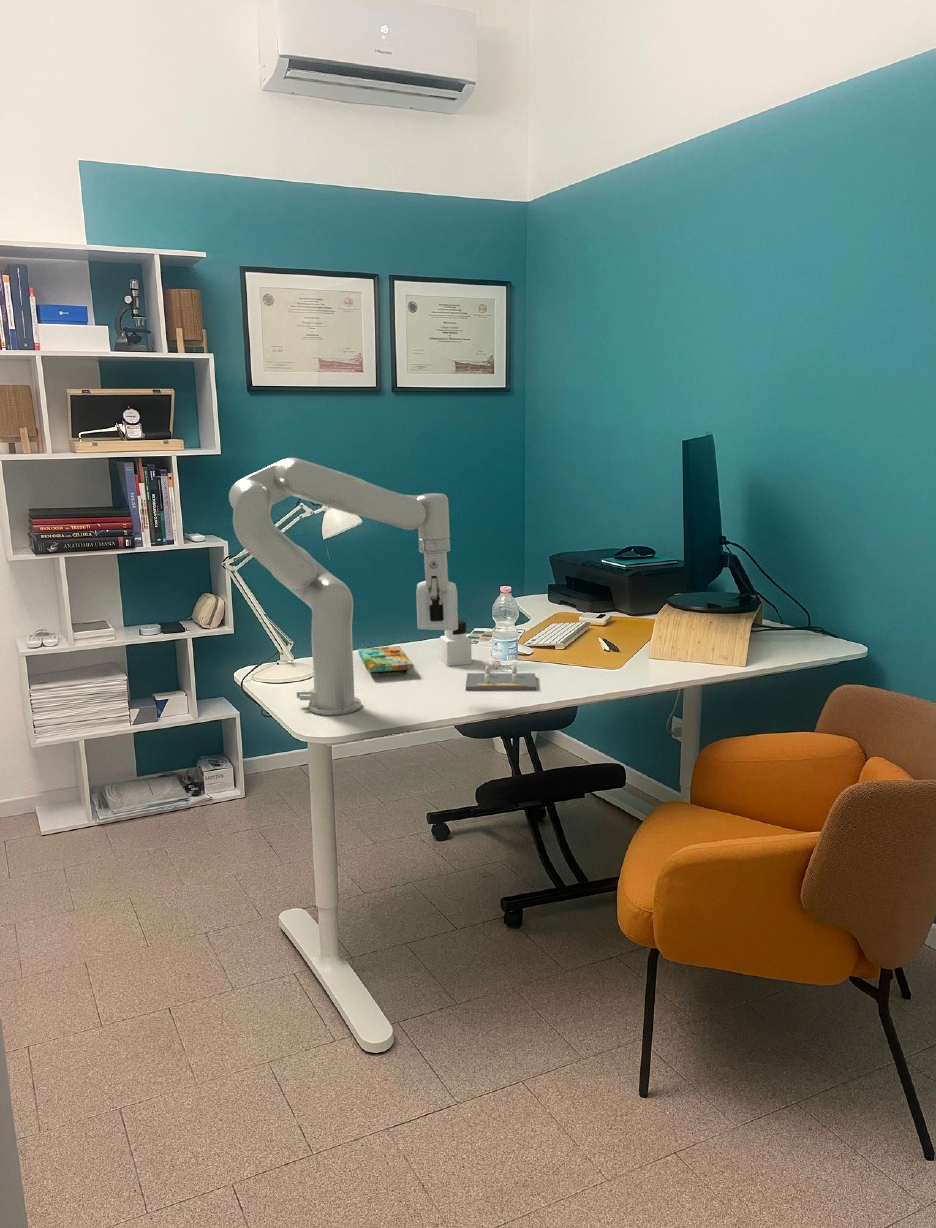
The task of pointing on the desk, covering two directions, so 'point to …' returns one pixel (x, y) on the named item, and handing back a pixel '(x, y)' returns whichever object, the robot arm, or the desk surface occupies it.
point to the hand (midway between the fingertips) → (437, 617)
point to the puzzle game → (385, 660)
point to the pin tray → (501, 680)
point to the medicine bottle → (456, 646)
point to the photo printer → (448, 608)
